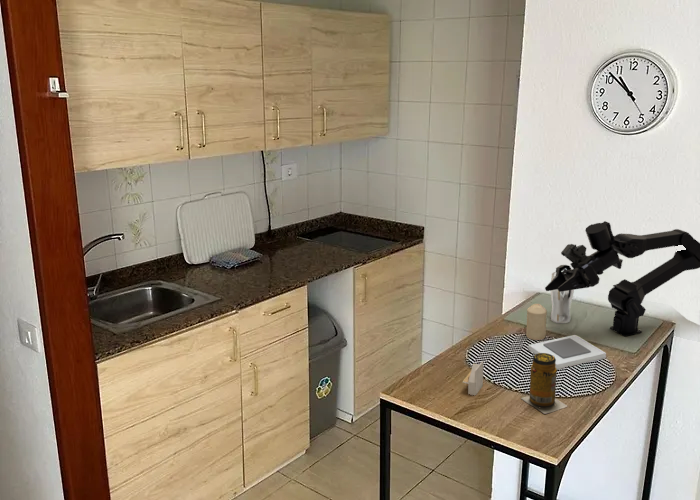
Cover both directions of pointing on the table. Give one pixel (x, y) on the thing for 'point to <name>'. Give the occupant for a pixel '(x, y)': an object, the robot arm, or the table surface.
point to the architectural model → (475, 379)
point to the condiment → (543, 384)
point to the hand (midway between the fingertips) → (551, 289)
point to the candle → (536, 322)
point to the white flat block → (568, 351)
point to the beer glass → (561, 304)
